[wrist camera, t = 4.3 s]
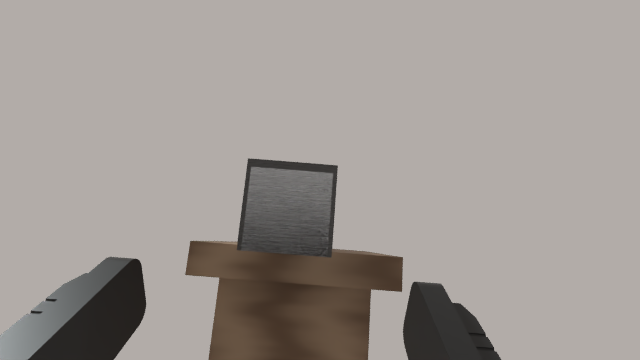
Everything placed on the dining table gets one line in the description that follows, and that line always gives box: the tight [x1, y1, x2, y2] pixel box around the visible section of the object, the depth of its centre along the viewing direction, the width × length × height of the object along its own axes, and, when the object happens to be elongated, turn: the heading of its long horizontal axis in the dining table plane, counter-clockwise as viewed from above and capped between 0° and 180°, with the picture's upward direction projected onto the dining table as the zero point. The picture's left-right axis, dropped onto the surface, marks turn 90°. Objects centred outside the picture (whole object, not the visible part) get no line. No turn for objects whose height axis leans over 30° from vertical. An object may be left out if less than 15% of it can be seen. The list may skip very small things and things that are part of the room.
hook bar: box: [237, 159, 338, 258], centre depth 22 cm, size 5×21×4 cm, turn 1°
